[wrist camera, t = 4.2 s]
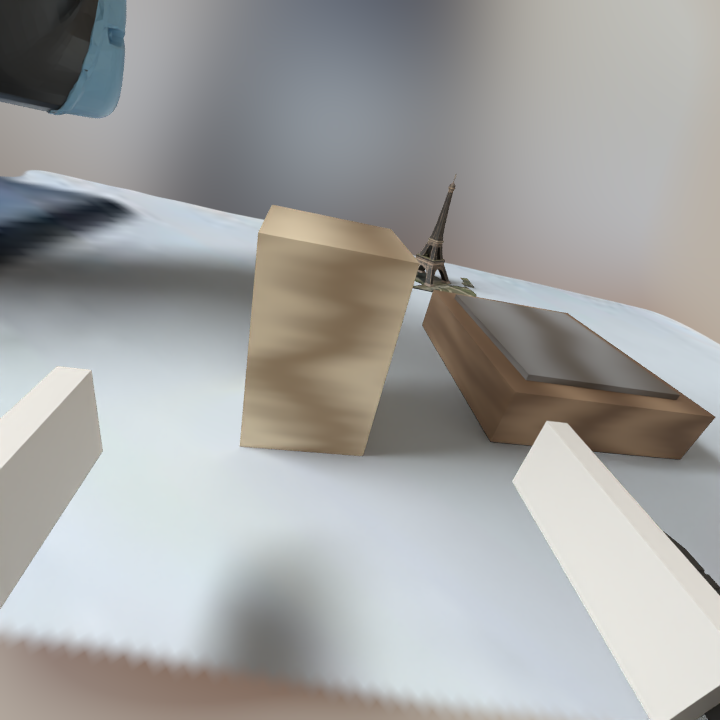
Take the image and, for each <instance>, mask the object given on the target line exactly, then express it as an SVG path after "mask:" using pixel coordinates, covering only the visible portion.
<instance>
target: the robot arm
mask: <svg viewBox="0 0 720 720" xmlns="http://www.w3.org/2000/svg"><path fill="white" fill-rule="evenodd" d="M125 24H126V0H0V101H1V102H5V103H10V104H14V105H19V106H23V107H28V108H33V109H37V110H42V111H47V112H48V113H50V114H54V115H61V114H72V115H78V116H84V117H91V118H103V117H106V116H108V115H110V114H111V113H112V112H113V111H114V109H115V108H116V106H117V103H118V101H119V97H120V92H121V87H122V80H123V71H124V57H125V45H124V39H123V38H124V35H125ZM102 452H103V449H102V442H101V435H100V428H99V421H98V413H97V406H96V399H95V392H94V385H93V378H92V371H91V370H87V369H78V368H69V367H60V366H57V367H56V368H54V369H53V370H52V371H51V372H50V373H49V374H48V375H47V376H46V377H45V378H44V379H43V380H41V381H40V382H39V383H38V384H37V385H36V386H35V387H34V388H33V389H32V390H31V391H30V392H29V393H27V394H26V395H25V396H24V397H23V398H22V399H21V400H20V401H19V402H18V403H17V404H16V405H14V406H13V407H12V408H11V409H10V410H9V411H8V412H7V413H6V414H5V415H4V416H3V417H2V418H0V609H1V607H2V606H3V604H4V603H5V601H6V600H7V598H8V596H9V595H10V593H11V592H12V590H13V589H14V587H15V586H16V584H17V583H18V581H19V580H20V578H21V576H22V575H23V573H24V572H25V570H26V569H27V567H28V566H29V564H30V563H31V561H32V560H33V558H34V556H35V555H36V553H37V552H38V550H39V549H40V547H41V546H42V544H43V543H44V541H45V539H46V538H47V536H48V535H49V533H50V532H51V530H52V529H53V527H54V526H55V524H56V523H57V521H58V519H59V518H60V516H61V515H62V513H63V512H64V510H65V509H66V507H67V506H68V504H69V502H70V501H71V499H72V498H73V496H74V495H75V493H76V492H77V490H78V489H79V487H80V486H81V484H82V482H83V481H84V479H85V478H86V476H87V475H88V473H89V472H90V470H91V469H92V467H93V465H94V464H95V462H96V461H97V459H98V458H99V456H100V455H101V453H102ZM512 482H513V484H514V485H515V487H516V489H517V491H518V492H519V494H520V496H521V498H522V499H523V501H524V503H525V504H526V506H527V508H528V510H529V511H530V513H531V515H532V517H533V518H534V520H535V522H536V523H537V525H538V527H539V529H540V530H541V532H542V534H543V536H544V537H545V539H546V541H547V542H548V544H549V546H550V548H551V549H552V551H553V553H554V555H555V556H556V558H557V560H558V561H559V563H560V565H561V567H562V568H563V570H564V572H565V574H566V575H567V577H568V579H569V580H570V582H571V584H572V586H573V587H574V589H575V591H576V593H577V594H578V596H579V598H580V599H581V601H582V603H583V605H584V606H585V608H586V610H587V612H588V613H589V615H590V617H591V618H592V620H593V622H594V624H595V625H596V627H597V629H598V631H599V632H600V634H601V636H602V637H603V639H604V641H605V643H606V644H607V646H608V648H609V650H610V651H611V653H612V655H613V656H614V658H615V660H616V662H617V663H618V665H619V667H620V669H621V670H622V672H623V674H624V675H625V677H626V679H627V681H628V682H629V684H630V686H631V688H632V689H633V691H634V693H635V694H636V696H637V698H638V700H639V701H640V703H641V705H642V707H643V708H644V710H645V712H646V713H647V715H648V717H649V719H650V720H696V719H698V718H700V717H701V716H703V715H704V714H705V715H706V717H707V718H708V720H720V587H719V586H718V585H717V583H716V582H715V581H714V580H713V579H712V578H711V577H710V576H709V575H708V574H705V573H704V571H705V570H704V569H703V568H702V567H701V566H700V565H699V564H698V562H697V561H696V560H695V559H694V558H693V557H692V556H691V555H690V554H689V552H688V551H687V550H686V549H685V548H683V547H682V546H681V545H680V544H679V543H677V542H676V541H675V540H674V539H672V538H671V537H670V536H669V535H668V534H666V533H665V532H664V531H662V530H661V529H660V528H659V526H658V525H657V524H656V523H655V522H654V521H653V520H652V519H651V517H650V516H649V515H648V514H647V513H646V512H645V511H644V509H643V508H642V507H641V506H640V505H639V504H638V503H637V502H636V500H635V499H634V498H633V497H632V496H631V495H630V494H629V492H628V491H627V490H626V489H625V488H624V487H623V486H622V485H621V483H620V482H619V481H618V480H617V479H616V478H615V477H614V476H613V474H612V473H611V472H610V471H609V470H608V469H607V468H606V466H605V465H604V464H603V463H602V462H601V461H600V460H599V459H598V457H597V456H596V455H595V454H594V453H593V452H592V451H591V449H590V448H589V447H588V446H587V445H586V444H585V443H584V442H583V440H582V439H581V438H580V437H579V436H578V435H577V434H576V433H575V431H574V430H573V429H572V428H571V427H570V426H569V425H568V423H562V422H553V421H546V423H545V424H544V426H543V428H542V430H541V432H540V433H539V435H538V437H537V439H536V440H535V442H534V444H533V446H532V447H531V449H530V451H529V453H528V454H527V456H526V458H525V460H524V461H523V463H522V465H521V467H520V468H519V470H518V472H517V474H516V475H515V477H514V479H513V481H512Z"/></svg>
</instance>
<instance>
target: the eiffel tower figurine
mask: <svg viewBox="0 0 720 720" xmlns="http://www.w3.org/2000/svg"><path fill="white" fill-rule="evenodd" d="M455 176H456V175H455ZM454 189H455V184H454V182H453V183H452V184H450V186H449V191H448V195H447V197H446V200H445V203H444V205H443V208H442V210H441V213H440V216H439V218H438V221H437V224H436V226H435V228H434V231H433V233H432V235H431V237H430V238H428V239H429V241H428V242H427V244H426V245H425V247H424V248H423V250H422V251H421V252H420V254H416V260H417V261H418V262H419V263H420V264H419V265H420V266H419V268H418V271H417V274H416V278H415V281H416V282H418V283H421V284H422V285H418V286H413V288H417V289H422V290H427V291H433V290H439V291H445V292H450V293H456V294H462V295H467V296H473V297H476V294H475V293H474V292H473V291H471V290H470V289H469V288H467V287H460V286H452V285H448V284H451V283H450V282H449V280H448V276H447V273H446V270H445V267H444V262H445V260H444V259H443V257H442V243H443V242H444V241H443V233H444V228H445V223H446V218H447V214H448V210H449V205H450V202H451V197H452V194H453V191H454ZM436 256H437V257H436ZM425 269H426V272H427V273H425ZM437 269H438V270H439V272H440V275H441V278H442V279H439V278H437V277H435V276H434V274H435V272H436V270H437ZM461 279H462V280H463V282H464V283H462V284H463V285H464V286H468V287H472V288H474V286H473V285H472V284H471V283H470V281H469V280H468V279H467V278H461Z"/></svg>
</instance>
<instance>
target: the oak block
mask: <svg viewBox="0 0 720 720" xmlns="http://www.w3.org/2000/svg"><path fill="white" fill-rule="evenodd" d="M419 264H420V263H419V262H418V261H417V260H416V258H415V257H414V256H413V255H412V254H411V253H410V251H409V250H408V249H407V248H406V247H405V245H404V244H403V243H402V242H401V241H400V239H399V238H398V237H397V236H396V235H395V234H394V232H393V231H392V230H391V229H387V228H382V227H377V226H372V225H367V224H363V223H358V222H353V221H348V220H343V219H339V218H334V217H329V216H324V215H319V214H314V213H310V212H305V211H300V210H295V209H290V208H285V207H280V206H275V205H272V206H271V208H270V210H269V212H268V214H267V216H266V218H265V220H264V222H263V224H262V226H261V228H260V230H259V232H258V242H257V253H256V265H255V276H254V288H253V299H252V311H251V322H250V334H249V345H248V357H247V369H246V380H245V392H244V403H243V415H242V426H241V438H240V446H241V447H254V448H266V449H279V450H291V451H304V452H317V453H329V454H342V455H354V456H363V454H364V451H365V447H366V444H367V441H368V437H369V434H370V430H371V427H372V424H373V420H374V417H375V413H376V410H377V407H378V403H379V400H380V396H381V393H382V390H383V386H384V383H385V379H386V376H387V373H388V369H389V366H390V363H391V359H392V356H393V352H394V349H395V346H396V342H397V339H398V335H399V332H400V329H401V325H402V322H403V318H404V315H405V312H406V308H407V305H408V302H409V298H410V295H411V291H412V288H413V285H414V281H415V278H416V274H417V271H418V268H419Z"/></svg>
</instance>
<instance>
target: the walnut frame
mask: <svg viewBox="0 0 720 720" xmlns="http://www.w3.org/2000/svg"><path fill="white" fill-rule="evenodd" d="M422 326H423V328H424V329H425V331H426V333H427V335H428V336H429V338H430V340H431V341H432V343H433V345H434V346H435V348H436V350H437V352H438V353H439V355H440V357H441V358H442V360H443V362H444V363H445V365H446V367H447V369H448V370H449V372H450V374H451V375H452V377H453V379H454V381H455V382H456V384H457V386H458V387H459V389H460V391H461V392H462V394H463V396H464V398H465V399H466V401H467V403H468V404H469V406H470V408H471V410H472V411H473V413H474V415H475V416H476V418H477V420H478V421H479V423H480V425H481V427H482V428H483V430H484V432H485V433H486V435H487V437H488V439H489V440H490V442H500V443H510V444H521V445H532V446H533V444H534V442H535V440H536V439H537V437H538V435H539V433H540V432H541V430H542V428H543V426H544V424H545V423H546V421H553V422H562V423H568V425H569V426H570V427H571V428H572V429H573V430H574V431H575V433H576V434H577V435H578V436H579V437H580V438H581V439H582V440H583V442H584V443H585V444H586V445H587V446H588V447H589V448H590V449H591V451H595V452H606V453H617V454H627V455H638V456H649V457H659V458H670V459H681V458H682V457H683V456H684V454H685V453H686V452H687V451H688V450H689V448H690V447H691V446H692V445H693V443H694V442H695V441H696V440H697V439H698V437H699V436H700V435H701V434H702V433H703V431H704V430H705V429H706V428H707V427H708V425H709V424H710V423H711V422H712V421H713V419H714V418H715V416H713V415H712V414H710V413H709V412H708V411H706V410H705V409H703V408H702V407H700V406H699V405H698V404H696V403H695V402H693V401H692V400H690V399H689V398H688V397H686V396H685V395H683V394H682V393H681V392H679V391H678V390H676V389H675V388H673V387H672V386H671V385H669V384H668V383H666V382H665V381H663V380H662V379H661V378H659V377H658V376H656V375H655V374H653V373H652V372H651V371H649V370H648V369H646V368H645V367H643V366H642V365H641V364H639V363H638V362H636V361H635V360H633V359H632V358H631V357H629V356H628V355H626V354H625V353H623V352H622V351H621V350H619V349H618V348H616V347H615V346H613V345H612V344H611V343H609V342H608V341H606V340H605V339H603V338H602V337H601V336H599V335H598V334H596V333H595V332H593V331H592V330H591V329H589V328H588V327H586V326H585V325H583V324H582V323H581V322H579V321H578V320H576V319H575V318H573V317H572V316H571V315H569V314H568V313H563V312H557V311H552V310H546V309H540V308H535V307H529V306H524V305H518V304H512V303H507V302H501V301H495V300H490V299H484V298H479V297H473V296H467V295H462V294H456V293H450V292H445V291H439V290H433V293H432V296H431V299H430V303H429V306H428V309H427V312H426V315H425V318H424V321H423V324H422Z"/></svg>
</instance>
